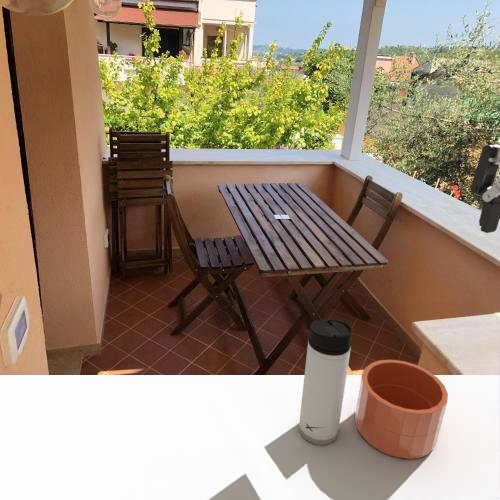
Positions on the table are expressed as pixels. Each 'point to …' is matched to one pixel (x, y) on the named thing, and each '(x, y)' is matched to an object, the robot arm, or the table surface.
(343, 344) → the travel mug
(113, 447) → the table surface
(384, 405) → the planter
